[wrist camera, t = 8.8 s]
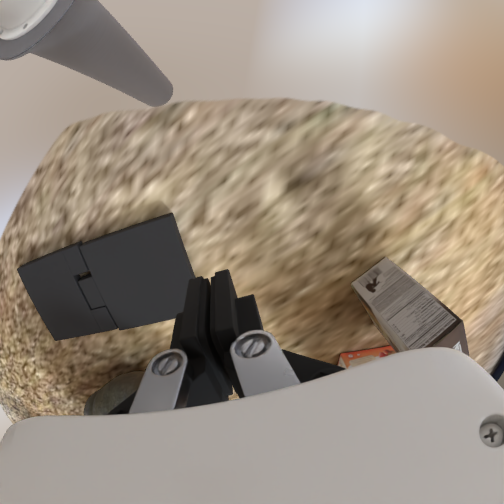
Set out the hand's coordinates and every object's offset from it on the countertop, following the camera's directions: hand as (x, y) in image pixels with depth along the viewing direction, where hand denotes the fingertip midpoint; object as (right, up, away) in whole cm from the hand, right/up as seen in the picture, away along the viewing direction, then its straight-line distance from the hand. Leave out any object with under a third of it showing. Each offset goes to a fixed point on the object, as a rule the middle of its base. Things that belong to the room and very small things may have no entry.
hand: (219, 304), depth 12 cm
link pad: (-13, -1, +21) cm, 24 cm away
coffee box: (+19, -3, +25) cm, 32 cm away
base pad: (-23, -3, +20) cm, 31 cm away
